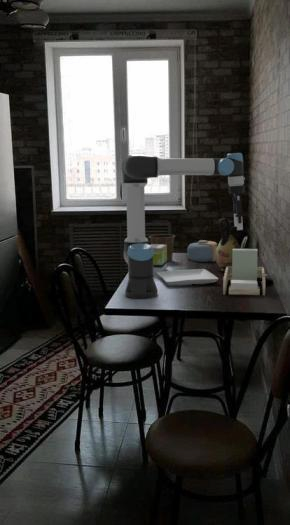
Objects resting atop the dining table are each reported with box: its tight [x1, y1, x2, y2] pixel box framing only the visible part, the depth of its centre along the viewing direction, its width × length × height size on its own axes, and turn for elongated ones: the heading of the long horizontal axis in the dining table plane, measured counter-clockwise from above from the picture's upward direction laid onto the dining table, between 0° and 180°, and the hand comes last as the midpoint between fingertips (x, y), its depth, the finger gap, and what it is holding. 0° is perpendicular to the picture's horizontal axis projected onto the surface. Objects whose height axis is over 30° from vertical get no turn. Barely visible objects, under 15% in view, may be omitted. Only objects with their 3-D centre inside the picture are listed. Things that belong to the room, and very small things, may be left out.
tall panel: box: [232, 248, 258, 280], centre depth 260 cm, size 5×12×18 cm, turn 79°
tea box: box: [150, 243, 168, 275], centre depth 301 cm, size 15×10×15 cm
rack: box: [222, 266, 266, 296], centre depth 258 cm, size 32×19×7 cm, turn 169°
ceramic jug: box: [215, 217, 242, 272], centre depth 298 cm, size 17×15×30 cm
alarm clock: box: [187, 239, 218, 263], centre depth 337 cm, size 19×20×12 cm
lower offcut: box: [228, 285, 261, 296], centre depth 246 cm, size 7×14×3 cm, turn 80°
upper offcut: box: [230, 280, 259, 290], centre depth 246 cm, size 7×12×3 cm, turn 81°
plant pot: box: [148, 234, 176, 263], centre depth 333 cm, size 16×16×16 cm
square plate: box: [155, 268, 219, 287], centre depth 275 cm, size 27×27×4 cm
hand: (238, 228), depth 262 cm, fingers open, 13 cm apart
